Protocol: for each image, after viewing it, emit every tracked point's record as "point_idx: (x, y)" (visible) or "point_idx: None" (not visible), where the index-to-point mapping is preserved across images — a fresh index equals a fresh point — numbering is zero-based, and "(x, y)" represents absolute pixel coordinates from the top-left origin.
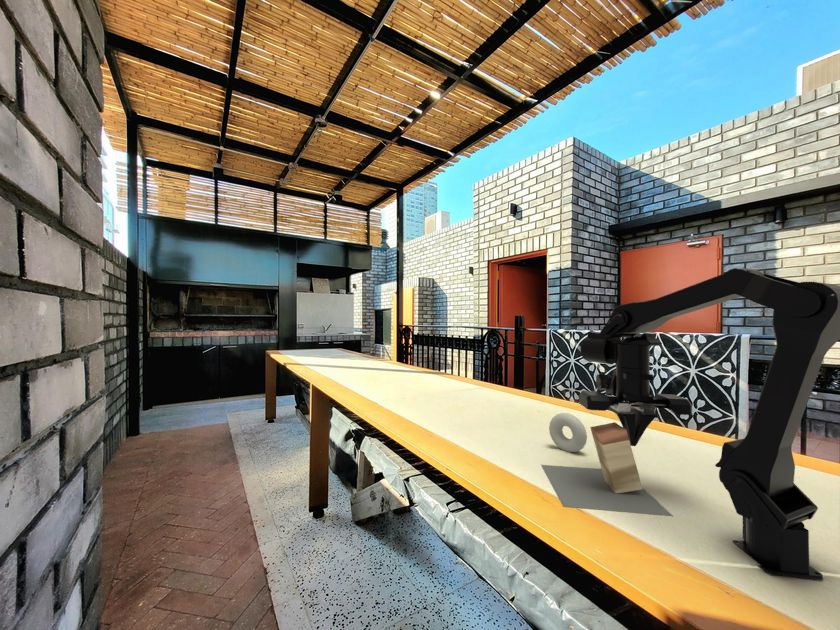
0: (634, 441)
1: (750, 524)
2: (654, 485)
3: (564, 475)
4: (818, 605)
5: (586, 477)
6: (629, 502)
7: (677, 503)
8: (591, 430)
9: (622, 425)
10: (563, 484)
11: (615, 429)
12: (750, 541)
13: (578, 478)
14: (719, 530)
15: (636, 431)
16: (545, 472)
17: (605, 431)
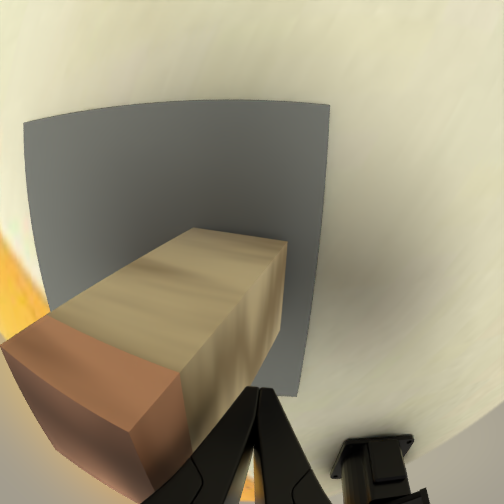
0: (254, 439)
1: (345, 499)
2: (386, 215)
3: (70, 197)
4: (335, 491)
5: (135, 200)
6: None
7: (370, 327)
8: (17, 339)
9: (182, 470)
10: (63, 263)
11: (118, 482)
12: (343, 476)
13: (107, 213)
14: (365, 411)
15: (256, 498)
16: (27, 184)
17: (73, 453)
